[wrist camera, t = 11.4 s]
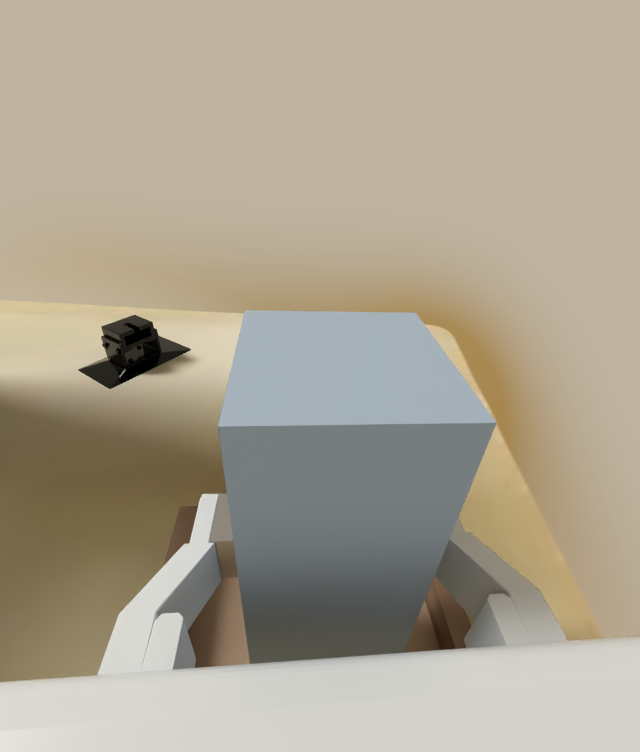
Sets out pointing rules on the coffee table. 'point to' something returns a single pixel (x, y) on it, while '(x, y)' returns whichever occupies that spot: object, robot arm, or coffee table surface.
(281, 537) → the block
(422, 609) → the tray
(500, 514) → the coffee table surface
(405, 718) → the robot arm
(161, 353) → the black bracket mount
